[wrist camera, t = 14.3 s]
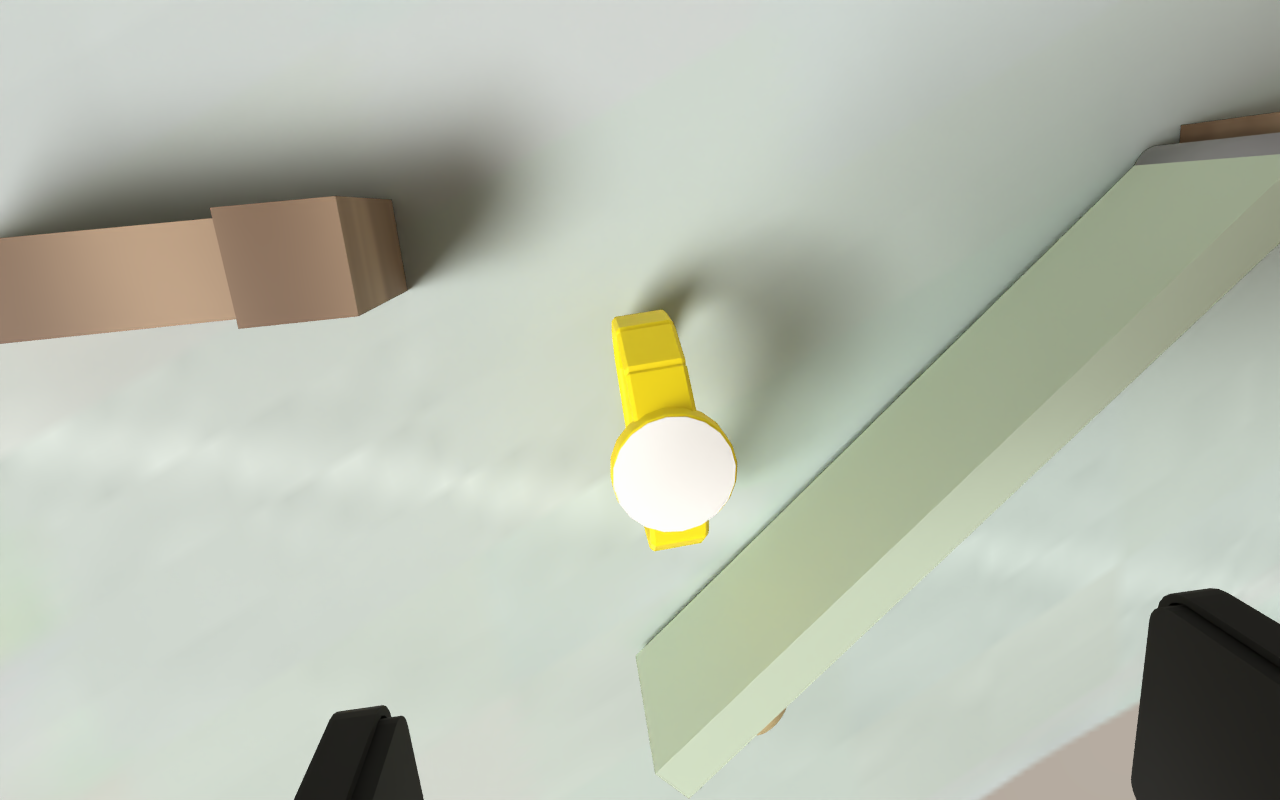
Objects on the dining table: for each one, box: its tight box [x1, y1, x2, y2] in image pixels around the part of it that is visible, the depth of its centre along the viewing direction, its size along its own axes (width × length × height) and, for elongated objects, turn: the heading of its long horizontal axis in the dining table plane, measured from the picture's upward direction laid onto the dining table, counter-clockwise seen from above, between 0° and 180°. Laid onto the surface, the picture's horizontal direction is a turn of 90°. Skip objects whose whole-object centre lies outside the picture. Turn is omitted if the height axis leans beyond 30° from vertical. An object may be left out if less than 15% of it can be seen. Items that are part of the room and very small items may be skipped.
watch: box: [611, 309, 737, 551], centre depth 19 cm, size 6×3×6 cm, turn 8°
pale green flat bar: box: [636, 132, 1280, 799], centre depth 20 cm, size 22×2×5 cm, turn 136°
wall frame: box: [0, 112, 1280, 344], centre depth 16 cm, size 40×2×9 cm, turn 95°
